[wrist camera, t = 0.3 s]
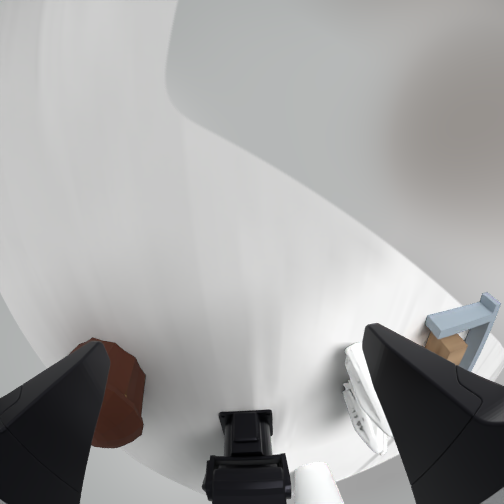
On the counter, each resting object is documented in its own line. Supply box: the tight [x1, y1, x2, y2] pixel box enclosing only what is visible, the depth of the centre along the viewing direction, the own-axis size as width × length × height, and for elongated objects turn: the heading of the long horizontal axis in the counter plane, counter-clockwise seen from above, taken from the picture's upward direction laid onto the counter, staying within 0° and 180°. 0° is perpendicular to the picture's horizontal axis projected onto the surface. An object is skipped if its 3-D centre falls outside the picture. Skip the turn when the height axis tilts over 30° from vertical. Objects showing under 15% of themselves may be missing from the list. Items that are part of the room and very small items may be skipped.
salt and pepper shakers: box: [342, 342, 394, 455], centre depth 23 cm, size 12×4×11 cm, turn 13°
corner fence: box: [425, 292, 501, 372], centre depth 27 cm, size 16×11×3 cm
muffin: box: [70, 338, 146, 448], centre depth 22 cm, size 12×11×10 cm
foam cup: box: [294, 462, 344, 504], centre depth 32 cm, size 10×9×13 cm
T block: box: [425, 332, 468, 366], centre depth 26 cm, size 9×9×4 cm
